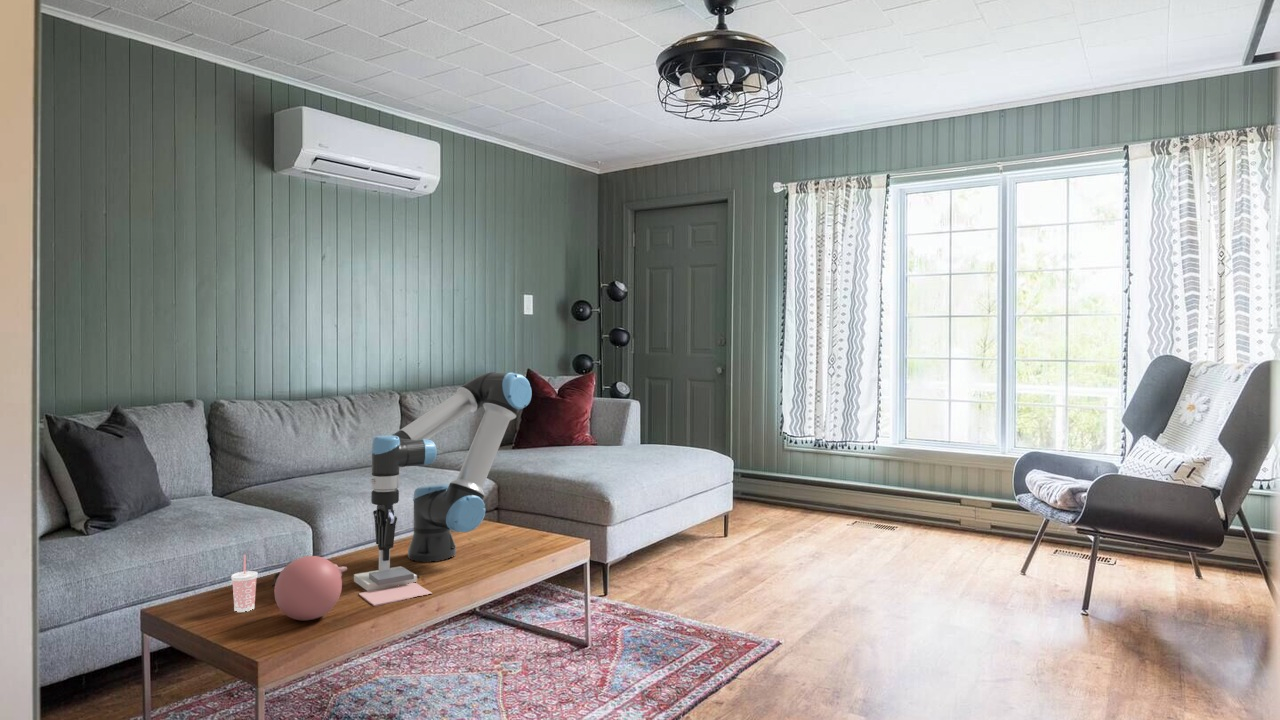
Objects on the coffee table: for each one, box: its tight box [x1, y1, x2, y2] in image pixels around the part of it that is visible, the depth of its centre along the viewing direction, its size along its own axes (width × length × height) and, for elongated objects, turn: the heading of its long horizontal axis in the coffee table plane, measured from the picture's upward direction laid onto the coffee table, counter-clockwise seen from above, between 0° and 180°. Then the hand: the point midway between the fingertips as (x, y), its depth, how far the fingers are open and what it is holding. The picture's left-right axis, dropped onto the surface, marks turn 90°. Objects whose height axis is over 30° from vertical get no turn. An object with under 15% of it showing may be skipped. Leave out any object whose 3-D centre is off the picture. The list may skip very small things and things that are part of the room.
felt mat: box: [358, 582, 433, 607], centre depth 207 cm, size 16×12×1 cm
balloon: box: [273, 555, 348, 621], centre depth 190 cm, size 15×20×15 cm
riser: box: [353, 565, 418, 592], centre depth 218 cm, size 14×12×2 cm
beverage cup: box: [230, 554, 259, 613], centre depth 194 cm, size 6×6×14 cm
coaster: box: [369, 566, 415, 585], centre depth 214 cm, size 10×8×2 cm
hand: (384, 570), depth 218 cm, fingers closed
